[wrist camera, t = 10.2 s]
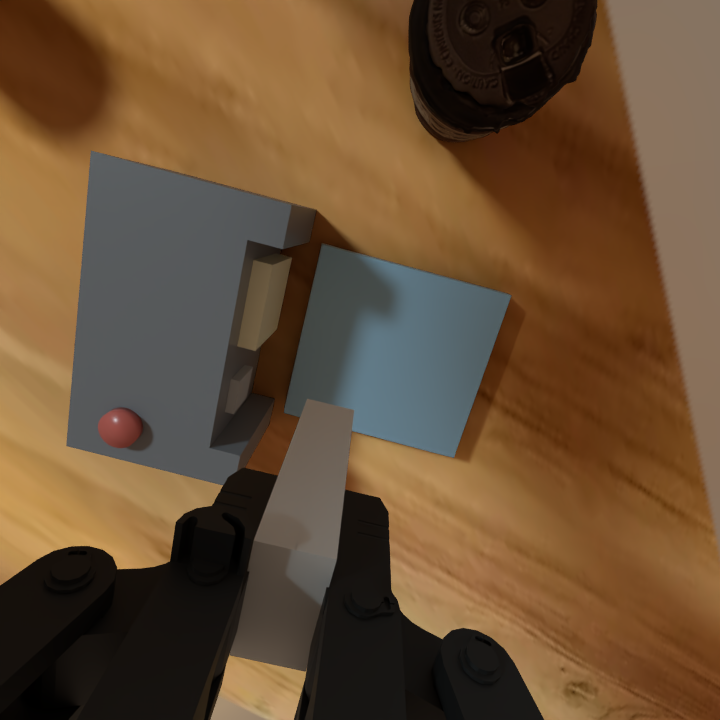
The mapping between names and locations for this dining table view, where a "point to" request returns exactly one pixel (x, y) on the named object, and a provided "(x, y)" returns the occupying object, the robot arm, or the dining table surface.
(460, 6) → the coffee cup
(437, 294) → the side door
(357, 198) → the dining table surface
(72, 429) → the grey notched block
